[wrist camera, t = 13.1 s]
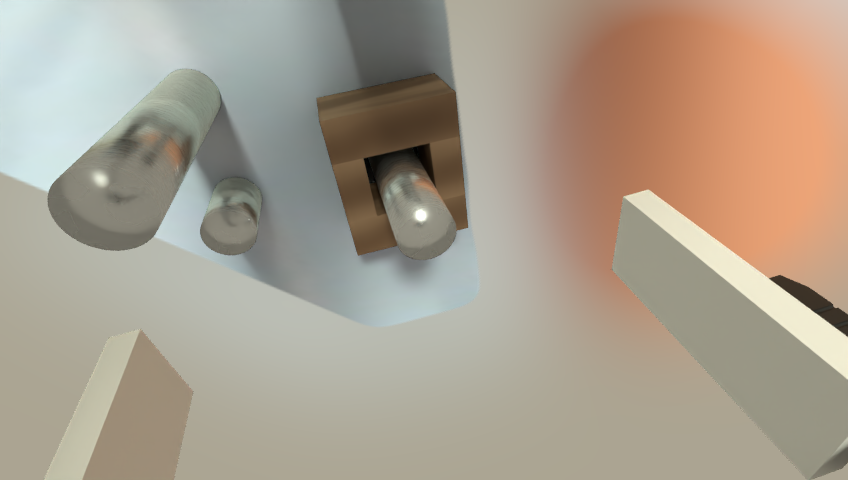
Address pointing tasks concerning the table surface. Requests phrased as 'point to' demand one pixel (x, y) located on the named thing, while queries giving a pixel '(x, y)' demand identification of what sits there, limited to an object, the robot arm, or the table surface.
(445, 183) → the hole block
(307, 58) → the table surface
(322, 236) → the table surface
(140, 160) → the pin long
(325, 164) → the table surface
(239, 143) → the table surface
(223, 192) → the pin short
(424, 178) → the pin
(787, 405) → the robot arm
